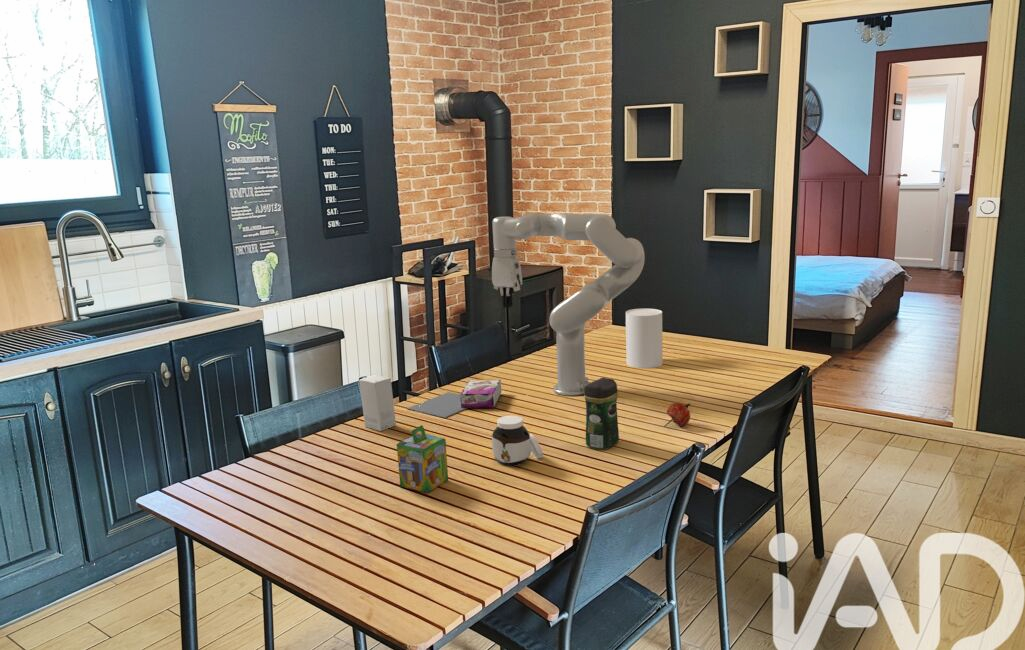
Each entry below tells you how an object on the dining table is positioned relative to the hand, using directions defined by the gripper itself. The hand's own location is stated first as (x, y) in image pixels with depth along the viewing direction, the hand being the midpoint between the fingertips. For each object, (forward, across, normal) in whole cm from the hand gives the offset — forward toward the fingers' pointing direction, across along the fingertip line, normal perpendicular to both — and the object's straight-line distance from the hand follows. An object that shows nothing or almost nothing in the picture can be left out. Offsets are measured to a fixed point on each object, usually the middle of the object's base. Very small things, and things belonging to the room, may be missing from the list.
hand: (507, 306), depth 265 cm
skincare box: (+29, +11, +52) cm, 61 cm away
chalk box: (+29, -31, +75) cm, 86 cm away
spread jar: (+29, -42, +50) cm, 72 cm away
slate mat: (+29, +7, +26) cm, 40 cm away
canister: (+29, -25, -50) cm, 63 cm away
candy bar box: (+26, -5, +24) cm, 36 cm away
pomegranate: (+29, -66, +5) cm, 72 cm away
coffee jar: (+29, -55, +29) cm, 69 cm away
